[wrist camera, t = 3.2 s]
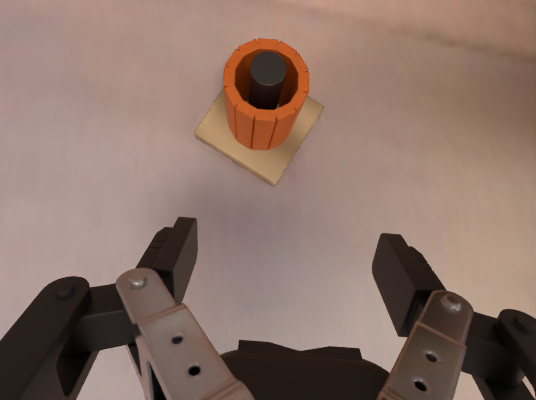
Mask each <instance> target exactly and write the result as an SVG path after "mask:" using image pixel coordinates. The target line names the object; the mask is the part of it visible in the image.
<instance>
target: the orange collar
mask: <svg viewBox="0 0 536 400" xmlns="http://www.w3.org/2000/svg"><path fill="white" fill-rule="evenodd" d="M264 51H271V52H274V53H277V54H278V55H280V56H281V57H282V58H283V60H284V61H285V64H286V68H287V71H286V76H285V79H284V83H283V87H282V90H281V94H280V98H279V102H278V104H279V106H280V107H279V108H277V109H275V110H265V109H256V108H255V107H253V106H252V105H250V104H249V103H247V102H245V101H246V100H248V99H249V81H250V65H251V62H252V60H253V58H254V57H255V56H256V55H257V54H259V53H261V52H264ZM225 66H226V67H224V81H223V87H224V95H225V103H226V111H227V119H228V124H229V128H230V130H231V132H232V134H233V136H234V137H235V139H237V141H238V142H239V143H241V144H242V145H244V146H246V147H247V148H249V149H251V147H252V150H266V151H267V149H269V150H270V149H272V148H274V147H276V146H278V145H280V144H282V142H284V141H285V139H286V138H287V136H288V135H289V133H290V131H291V130H292V127H293V125H294V123H295V121H296V119H297V117H298V114H299V112H300V110H301V108H302V106H303V104H304V102H305V99H306V97H307V95H308V92H309V72H308V68H307V67H306V65H305V63H304V61H303V60H302V58H301V56H300V54H299V53H298V54H297V51H296V50H295V49H293V48H292V47H290V46H288V45H287V44H285V43H284V42H282V41H280V42H279V43H278V40H274V39H260V38H259V39H258V42H257V40H256V39H254V40H252V41H250V42H248V43H246V44H243V45H241V46H239V47H238V50H237V49H235V51H234V52H233V54H232V55H231V57H230V58H229V60H228V61H227V62H226V64H225Z"/></svg>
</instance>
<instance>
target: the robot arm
mask: <svg viewBox="0 0 536 400" xmlns="http://www.w3.org/2000/svg"><path fill="white" fill-rule="evenodd" d="M197 252H198V238H197V219H196V218H190V217H178V219H177V221H176V222H175V224H174V226H173V228H171V227H165V228H163V229H162V230H160V231H159V232H157V233H156V235H155V236H154V238H153V240H152V242H151V243H150V245H149V246H148V248H147V250H146V251H145V253H144V255H143V256H142V258H141V260H140V261H139V263H138V265H137V266H136V268H135V269H132V270H129V271H127V272H125V273H123V274H122V275H121V276H120V277H119V278H118V279H117V281H116V283H114V284H110V285H104V286H97V287H89V283H88V281H87V280H86V279H84V278H82V277H76V276H71V277H65V278H61V279H58V280H56V281H53V282H52V283H50V284H48V285H47V286H46V287H44V289H43V290H42V291H41V292H40V293H39V294H38V296H37V297H36V298H35V299H34V300H33V302H32V303H31V304H30V305H29V307H28V308H27V309H26V310H25V311H24V313H23V314H22V315H21V316H20V317H19V319H18V320H17V321H16V322H15V324H14V325H13V326H12V327H11V328H10V330H9V331H8V332H7V333H6V334H5V336H4V337H3V338H2V339H1V341H0V400H76V399H77V396H78V394H79V392H80V390H81V388H82V386H83V384H84V382H85V380H86V378H87V376H88V374H89V372H90V369H91V367H92V365H93V363H94V361H95V359H96V357H97V355H98V353H99V351H100V350H103V349H108V348H113V347H118V346H123V345H126V348H127V351H128V353H129V356H130V358H131V361H132V363H133V365H134V368H135V370H136V373H137V375H138V378H139V380H140V383H141V386H142V389H143V392H144V396H145V400H453V397H454V394H455V390H456V386H457V383H458V379H459V375H460V371H462V372H465V373H468V374H471V375H472V377H473V379H474V380H475V382H476V384H477V386H478V388H479V390H480V392H481V394H482V396H483V398H484V400H535V399H534V397H533V396H532V394H531V393H530V391H529V390H528V388H527V387H526V385H525V384H524V382H523V381H522V379H523V378H524V376H526V377H527V379H528V380H529V382H530V383H531V385H532V386H533V388H534V391H535V396H536V319H535V318H533V317H532V316H530V315H528V314H526V313H523V312H521V311H517V310H513V309H505V310H502V311H501V312H500V314H499V316H498V317H497V318H494V317H490V316H487V315H483V314H480V313H477V312H474V311H473V308H472V306H471V305H470V304H469V302H468V301H466V300H465V299H464V298H462V297H461V296H459V295H457V294H455V293H453V292H450V291H447V290H446V289H445V287H444V286H443V284H442V283H441V281H440V280H439V279H438V277H437V276H436V274H435V273H434V271H432V268H431V267H430V265H429V264H427V261H426V260H425V258H424V257H423V255H422V254H421V253H420V252H418V251H417V250H416V249H415V248H413V247H410V246H408V245H407V243H406V242H405V240H404V239H403V237H402V236H401V235H400V234H388V233H382V234H381V235H380V238H379V241H378V245H377V248H376V252H375V255H374V259H373V263H372V273H373V277H374V279H375V282H376V284H377V287H378V289H379V291H380V294H381V296H382V299H383V301H384V303H385V306H386V308H387V311H388V313H389V315H390V318H391V320H392V322H393V325H394V327H395V330H396V332H397V334H398V337H408V338H407V340H406V342H405V344H404V346H403V348H402V350H401V352H400V354H399V356H398V358H397V360H396V362H395V364H394V366H393V368H392V370H391V372H390V373H389V372H388V371H386V370H385V369H383V368H382V367H380V366H378V365H376V364H374V363H372V362H370V361H367V360H364V359H362V356H361V353H360V349H359V348H346V347H332V346H329V347H323V348H317V349H311V350H305V351H298V350H294V349H291V348H287V347H284V346H280V345H277V344H274V343H270V342H260V341H246V340H239V345H238V350H234V351H230V352H226V353H223V354H221V355H219V354H218V352H217V351H216V349H215V348H214V346H213V345H212V343H211V342H210V340H209V339H208V337H207V336H206V334H205V333H204V331H203V330H202V328H201V327H200V325H199V324H198V322H197V321H196V319H195V318H194V316H193V315H192V313H191V312H190V310H189V309H188V307H187V306H186V305H185V304H184V303H182V301H183V298H184V295H185V292H186V289H187V286H188V283H189V280H190V277H191V275H192V272H193V269H194V266H195V263H196V259H197ZM181 303H182V304H181Z"/></svg>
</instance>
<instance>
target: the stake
mask: <svg viewBox="0 0 536 400" xmlns="http://www.w3.org/2000/svg"><path fill="white" fill-rule="evenodd" d="M286 71H287V68H286V64H285V61H284V60H283V58H282V57H281V56H280V55H278V54H277V53H274V52H271V51H264V52H261V53H259V54H257V55H256V56H255V57H254V58H253V60H252V62H251V65H250V81H249V99H248V100H246V101H245V102H247V103H249V104H250V105H252V106H253V107H255V108H256V109H265V110H275V109H277V108H279V107H280V106H279V104H278V102H279V98H280V94H281V90H282V87H283V83H284V79H285V76H286ZM323 108H324V106H323V105H321V104H320V103H318V102H317V101H315V100H313V99H312V98H310V97H309V96H307V97H306V99H305V102H304V104H303V106H302V108H301V110H300V112H299V114H298V117H297V119H296V121H295V123H294V125H293V127H292V130H291V131H290V133H289V135H288V136H287V138H286V139H285V141H284V142H282V144H280V145H278V146H276V147H274V148H272V149H270V150H269V149H267V151H266V150H252V147H251V149H249V148H247V147H246V146H244V145H242V144H241V143H239V142H238V141H237V139H235V137H234V136H233V134H232V132H231V130H230V128H229V124H228V119H227V111H226V103H225V95H224V89H223V90H222V92H221V93H220V95H219V96H218V98H217V99H216V101H215V102H214V104H213V105H212V107H211V108H210V110H209V111H208V113H207V114H206V115H205V117H204V118H203V120H202V121H201V123H200V124H199V126H198V127H197V129H196V130H195V132H194V134H195V136H196V138H197V139H199V140H201V141H202V142H204V143H205V144H207V145H209V146H210V147H212V148H213V149H215V150H217V151H218V152H220V153H222V154H223V155H225V156H226V157H228V158H230V159H231V160H233V161H234V162H236V163H238V164H239V165H241V166H242V167H244V168H246V169H247V170H249V171H250V172H252V173H254V174H255V175H257V176H258V177H260V178H262V179H263V180H265V181H266V182H268V183H270V184H271V185H273V186H275V185H276V184H277V182H278V181H279V179H280V178H281V176H282V174H283V173H284V171H285V169H286V168H287V166H288V165H289V163H290V161H291V160H292V158H293V157H294V155H295V153H296V152H297V150H298V149H299V147H300V145H301V144H302V142H303V141H304V139H305V137H306V136H307V134H308V133H309V131H310V129H311V128H312V126H313V125H314V123H315V121H316V120H317V118H318V117H319V115H320V113H321V112H322V110H323Z"/></svg>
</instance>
